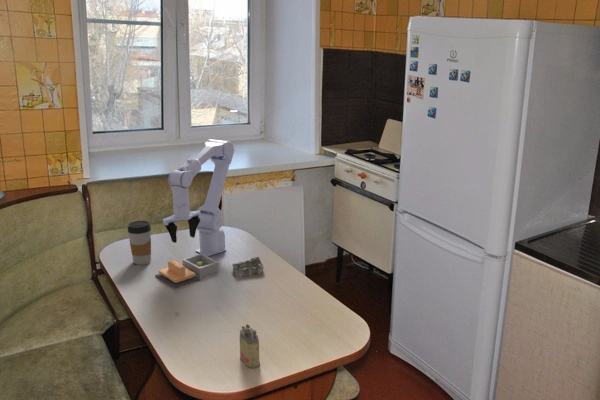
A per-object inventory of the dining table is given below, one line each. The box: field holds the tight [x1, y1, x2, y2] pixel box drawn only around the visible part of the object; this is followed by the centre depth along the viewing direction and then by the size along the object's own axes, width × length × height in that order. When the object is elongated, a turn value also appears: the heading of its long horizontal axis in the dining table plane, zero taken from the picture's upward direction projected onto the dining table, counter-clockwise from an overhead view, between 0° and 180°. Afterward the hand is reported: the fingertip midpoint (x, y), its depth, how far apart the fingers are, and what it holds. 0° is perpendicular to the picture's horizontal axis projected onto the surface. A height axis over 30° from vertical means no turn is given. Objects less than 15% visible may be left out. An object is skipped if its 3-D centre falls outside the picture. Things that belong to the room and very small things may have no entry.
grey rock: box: [231, 256, 264, 278], centre depth 205 cm, size 11×8×4 cm
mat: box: [154, 273, 201, 289], centre depth 200 cm, size 10×13×1 cm
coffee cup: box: [127, 220, 152, 266], centre depth 212 cm, size 8×8×15 cm
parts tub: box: [182, 253, 220, 279], centre depth 207 cm, size 8×11×4 cm
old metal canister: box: [239, 323, 261, 369], centre depth 150 cm, size 7×4×10 cm, turn 34°
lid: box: [158, 259, 196, 283], centre depth 199 cm, size 8×11×5 cm
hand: (183, 239), depth 207 cm, fingers open, 7 cm apart
